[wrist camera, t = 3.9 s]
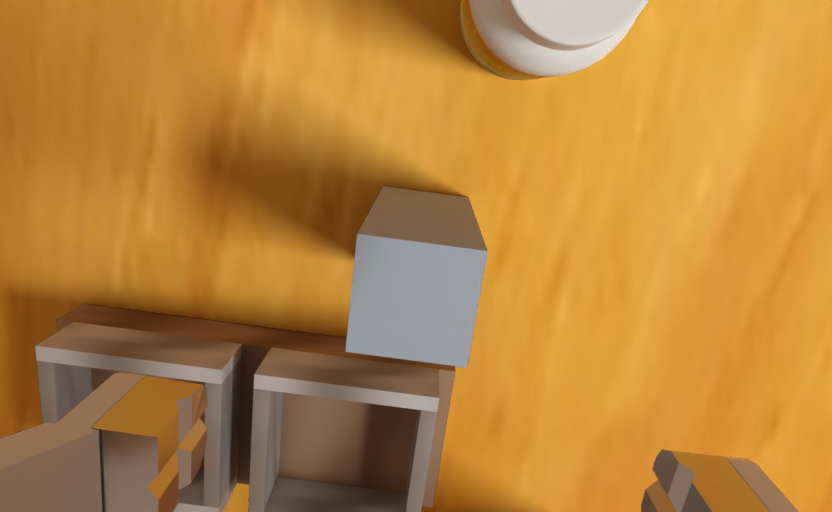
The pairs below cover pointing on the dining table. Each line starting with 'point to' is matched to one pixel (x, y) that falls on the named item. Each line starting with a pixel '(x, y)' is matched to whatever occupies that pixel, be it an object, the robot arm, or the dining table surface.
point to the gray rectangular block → (416, 278)
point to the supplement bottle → (544, 34)
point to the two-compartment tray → (269, 408)
